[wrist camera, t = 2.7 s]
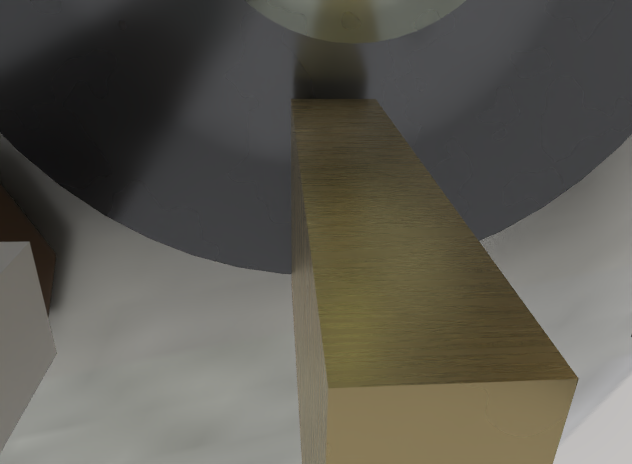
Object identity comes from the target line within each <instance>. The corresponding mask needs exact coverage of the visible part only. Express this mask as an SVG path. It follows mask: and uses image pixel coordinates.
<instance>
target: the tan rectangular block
mask: <svg viewBox="0 0 632 464" xmlns="http://www.w3.org/2000/svg"><path fill="white" fill-rule="evenodd" d="M291 245H292V298H293V315H294V332H295V349H296V366H297V383H298V400H299V418H300V435H301V452H302V464H553V461H554V457H555V454H556V451H557V448H558V445H559V441H560V438H561V435H562V431H563V428H564V425H565V422H566V418H567V415H568V412H569V409H570V405H571V402H572V399H573V396H574V392H575V389H576V386H577V382H578V377H577V376H576V375H575V373H574V372H573V370H572V369H571V368H570V366H569V365H568V364H567V362H566V361H565V359H564V358H563V357H562V355H561V354H560V352H559V351H558V350H557V348H556V347H555V346H554V344H553V343H552V341H551V340H550V339H549V337H548V336H547V335H546V333H545V332H544V330H543V329H542V328H541V326H540V325H539V324H538V322H537V321H536V319H535V318H534V317H533V315H532V314H531V313H530V311H529V310H528V308H527V307H526V306H525V304H524V303H523V301H522V300H521V299H520V297H519V296H518V295H517V293H516V292H515V290H514V289H513V288H512V286H511V285H510V284H509V282H508V281H507V279H506V278H505V277H504V275H503V274H502V273H501V271H500V270H499V268H498V267H497V266H496V264H495V263H494V262H493V260H492V259H491V257H490V256H489V255H488V253H487V252H486V250H485V249H484V248H483V246H482V245H481V244H480V242H479V241H478V239H477V238H476V237H475V235H474V234H473V233H472V231H471V230H470V228H469V227H468V226H467V224H466V223H465V222H464V220H463V219H462V217H461V216H460V215H459V213H458V212H457V211H456V209H455V208H454V206H453V205H452V204H451V202H450V201H449V199H448V198H447V197H446V195H445V194H444V193H443V191H442V190H441V188H440V187H439V186H438V184H437V183H436V182H435V180H434V179H433V177H432V176H431V175H430V173H429V172H428V171H427V169H426V168H425V166H424V165H423V164H422V162H421V161H420V160H419V158H418V157H417V155H416V154H415V153H414V151H413V150H412V148H411V147H410V146H409V144H408V143H407V142H406V140H405V139H404V137H403V136H402V135H401V133H400V132H399V131H398V129H397V128H396V126H395V125H394V124H393V122H392V121H391V120H390V118H389V117H388V115H387V114H386V113H385V111H384V110H383V109H382V107H381V106H380V104H379V103H378V102H377V100H376V99H291Z"/></svg>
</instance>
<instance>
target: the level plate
mask: <svg viewBox="0 0 632 464" xmlns="http://www.w3.org/2000/svg"><path fill="white" fill-rule="evenodd" d="M291 99H376V100H377V102H378V103H379V104H380V106H381V107H382V109H383V110H384V111H385V113H386V114H387V115H388V117H389V118H390V120H391V121H392V122H393V124H394V125H395V126H396V128H397V129H398V131H399V132H400V133H401V135H402V136H403V137H404V139H405V140H406V142H407V143H408V144H409V146H410V147H411V148H412V150H413V151H414V153H415V154H416V155H417V157H418V158H419V160H420V161H421V162H422V164H423V165H424V166H425V168H426V169H427V171H428V172H429V173H430V175H431V176H432V177H433V179H434V180H435V182H436V183H437V184H438V186H439V187H440V188H441V190H442V191H443V193H444V194H445V195H446V197H447V198H448V199H449V201H450V202H451V204H452V205H453V206H454V208H455V209H456V211H457V212H458V213H459V215H460V216H461V217H462V219H463V220H464V222H465V223H466V224H467V226H468V227H469V228H470V230H471V231H472V233H473V234H474V235H475V237H476V238H477V239H478V241H479V240H482V239H484V238H486V237H489V236H491V235H493V234H495V233H498V232H500V231H502V230H504V229H505V228H507V227H509V226H511V225H512V224H514V223H516V222H518V221H520V220H521V219H523V218H525V217H527V216H528V215H530V214H532V213H534V212H535V211H537V210H539V209H541V208H542V207H544V206H545V205H547V204H548V203H549V202H551V201H552V200H554V199H555V198H556V197H558V196H559V195H561V194H562V193H563V192H565V191H566V190H568V189H569V188H570V187H572V186H573V185H575V184H576V183H578V182H579V181H580V180H582V179H583V178H584V177H585V176H586V175H587V174H589V173H590V172H591V171H592V170H593V169H594V168H596V167H597V166H598V165H599V164H600V163H601V162H602V161H604V160H605V159H606V158H607V157H608V156H609V155H610V154H612V153H613V152H614V151H615V150H616V149H617V148H618V147H620V146H621V145H622V144H623V143H624V141H625V140H626V139H627V138H628V137H629V136H630V135H631V134H632V0H0V132H1V133H2V134H3V135H4V137H5V138H6V139H7V140H8V141H9V142H10V143H11V144H12V145H13V146H14V147H15V148H16V149H17V150H18V151H20V152H21V153H22V154H23V155H24V156H25V157H27V158H28V159H29V160H30V161H31V162H33V163H34V164H35V165H36V166H37V167H39V168H40V169H41V170H42V171H43V172H45V173H46V174H47V175H48V176H49V177H51V178H52V179H53V180H54V181H55V182H57V183H58V184H59V185H60V186H62V187H63V188H65V189H66V190H68V191H69V192H71V193H72V194H74V195H75V196H77V197H78V198H80V199H81V200H83V201H84V202H86V203H87V204H89V205H90V206H92V207H93V208H95V209H96V210H98V211H99V212H101V213H102V214H104V215H105V216H107V217H109V218H111V219H113V220H115V221H117V222H119V223H121V224H123V225H125V226H127V227H128V228H130V229H132V230H134V231H136V232H138V233H140V234H142V235H144V236H146V237H148V238H150V239H153V240H155V241H158V242H160V243H163V244H165V245H168V246H171V247H173V248H176V249H178V250H181V251H183V252H186V253H189V254H191V255H194V256H198V257H202V258H205V259H209V260H213V261H217V262H221V263H224V264H228V265H232V266H236V267H241V268H248V269H254V270H261V271H268V272H275V273H282V274H292V245H291Z"/></svg>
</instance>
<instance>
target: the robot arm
mask: <svg viewBox="0 0 632 464" xmlns="http://www.w3.org/2000/svg"><path fill="white" fill-rule="evenodd" d="M631 337H632V335H631ZM56 354H57V352H56V348H55V344H54V340H53V336H52V332H51V328H50V324H49V320H48V316H47V311H46V307H45V303H44V299H43V295H42V291H41V287H40V283H39V279H38V275H37V270H36V266H35V262H34V258H33V254H32V250H31V246H30V242H0V453H1V451H2V449H3V448H4V446H5V444H6V442H7V440H8V439H9V437H10V435H11V433H12V432H13V430H14V428H15V426H16V425H17V423H18V421H19V419H20V418H21V416H22V414H23V412H24V410H25V409H26V407H27V405H28V403H29V402H30V400H31V398H32V396H33V395H34V393H35V391H36V389H37V388H38V386H39V384H40V382H41V380H42V379H43V377H44V375H45V373H46V372H47V370H48V368H49V366H50V365H51V363H52V361H53V359H54V358H55V356H56Z"/></svg>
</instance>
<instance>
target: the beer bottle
mask: <svg viewBox="0 0 632 464" xmlns="http://www.w3.org/2000/svg"><path fill="white" fill-rule="evenodd" d="M0 242H30V246H31V250H32V254H33V258H34V262H35V266H36V270H37V275H38V279H39V283H40V287H41V291H42V295H43V299H44V303H45V307H46V311H47V316H49V309H50V301H51V293H52V286H53V278H54V270H55V262H56V253H55V252H54V251H53V249H52V248H51V247H50V246H49V244H48V243H47V242H46V241H45V239H44V238H43V237H42V236H41V234H40V233H39V232H38V230H37V229H36V228H35V227H34V225H33V224H32V223H31V222H30V220H29V219H28V218H27V217H26V215H25V214H24V213H23V212H22V210H21V209H20V208H19V207H18V205H17V204H16V203H15V201H14V200H13V199H12V198H11V196H10V195H9V194H8V193H7V191H6V190H5V189H4V188H3V186H2V185H1V184H0Z"/></svg>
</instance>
